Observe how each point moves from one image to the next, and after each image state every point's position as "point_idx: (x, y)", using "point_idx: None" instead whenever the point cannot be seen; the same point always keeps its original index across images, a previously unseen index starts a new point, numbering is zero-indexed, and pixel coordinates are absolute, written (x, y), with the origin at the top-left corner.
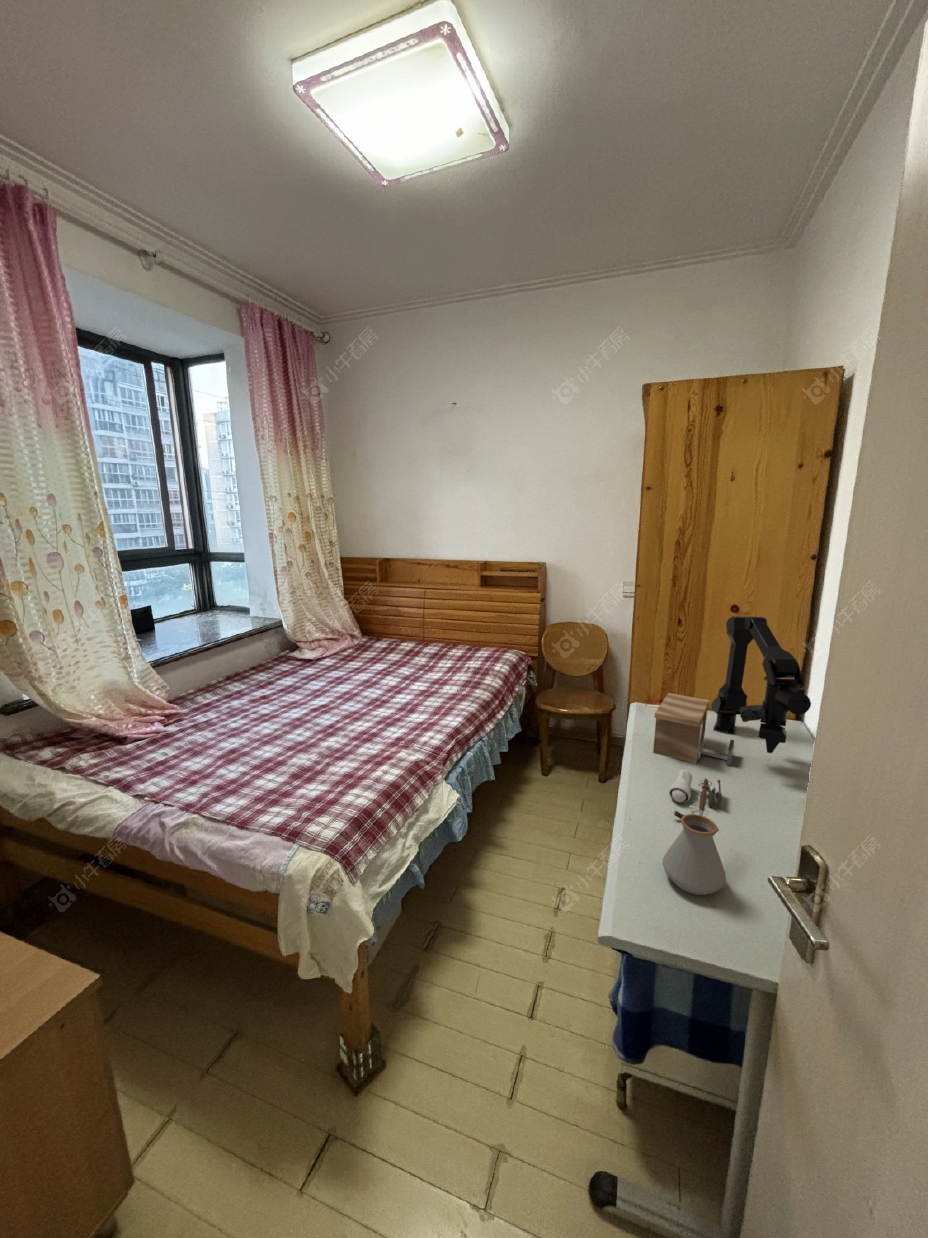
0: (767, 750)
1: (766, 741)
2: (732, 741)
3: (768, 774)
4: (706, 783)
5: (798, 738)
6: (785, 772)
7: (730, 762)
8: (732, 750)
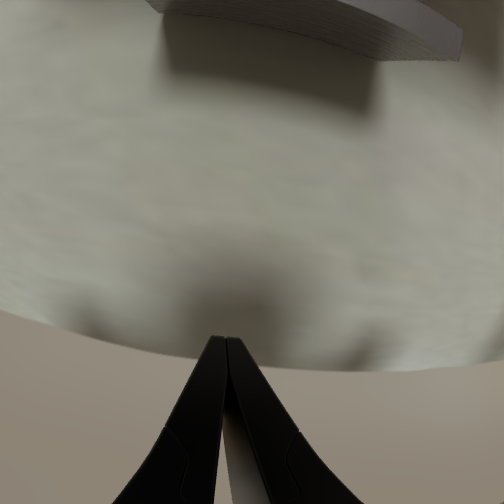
0: (204, 352)
1: (153, 447)
2: (427, 25)
3: (158, 250)
4: None
5: (500, 351)
6: (232, 327)
7: (166, 9)
8: (281, 3)
